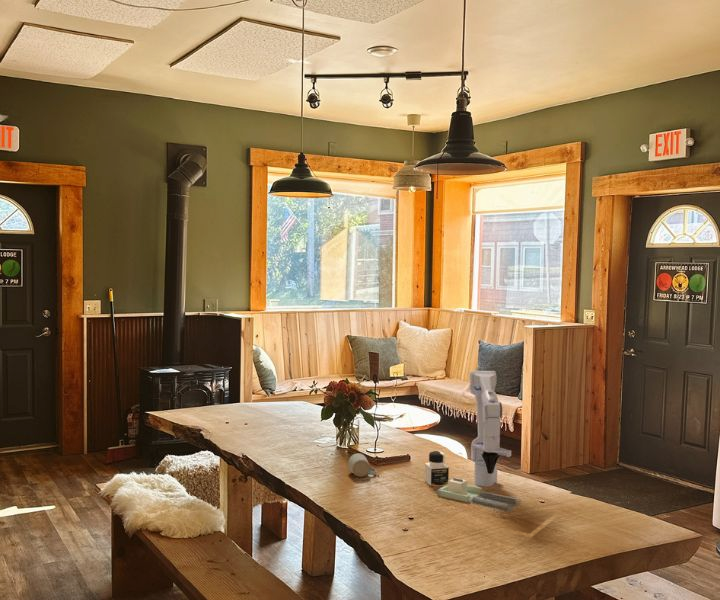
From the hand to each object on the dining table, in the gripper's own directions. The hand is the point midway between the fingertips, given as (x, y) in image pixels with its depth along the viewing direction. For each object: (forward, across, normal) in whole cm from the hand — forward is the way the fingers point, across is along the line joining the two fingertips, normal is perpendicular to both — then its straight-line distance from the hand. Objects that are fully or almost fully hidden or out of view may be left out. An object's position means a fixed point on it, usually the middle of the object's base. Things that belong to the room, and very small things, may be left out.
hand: (490, 473), depth 269 cm
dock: (+9, +4, -5) cm, 11 cm away
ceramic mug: (+10, -52, -4) cm, 54 cm away
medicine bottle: (+10, -24, +4) cm, 26 cm away
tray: (+9, -10, -5) cm, 14 cm away
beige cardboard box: (+8, -10, -5) cm, 14 cm away
